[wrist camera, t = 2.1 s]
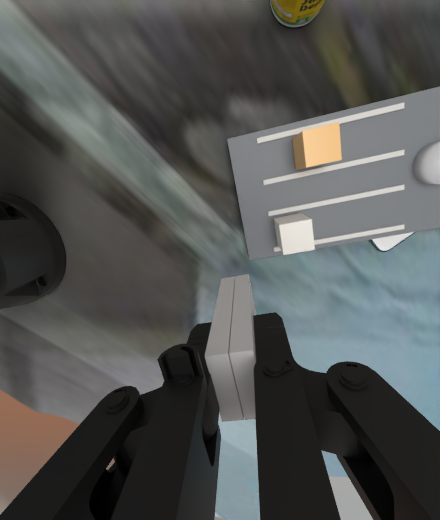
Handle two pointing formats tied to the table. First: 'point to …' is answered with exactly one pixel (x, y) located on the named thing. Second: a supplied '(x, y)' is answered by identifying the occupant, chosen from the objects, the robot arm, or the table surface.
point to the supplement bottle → (295, 11)
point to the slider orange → (317, 146)
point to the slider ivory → (294, 233)
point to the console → (345, 175)
